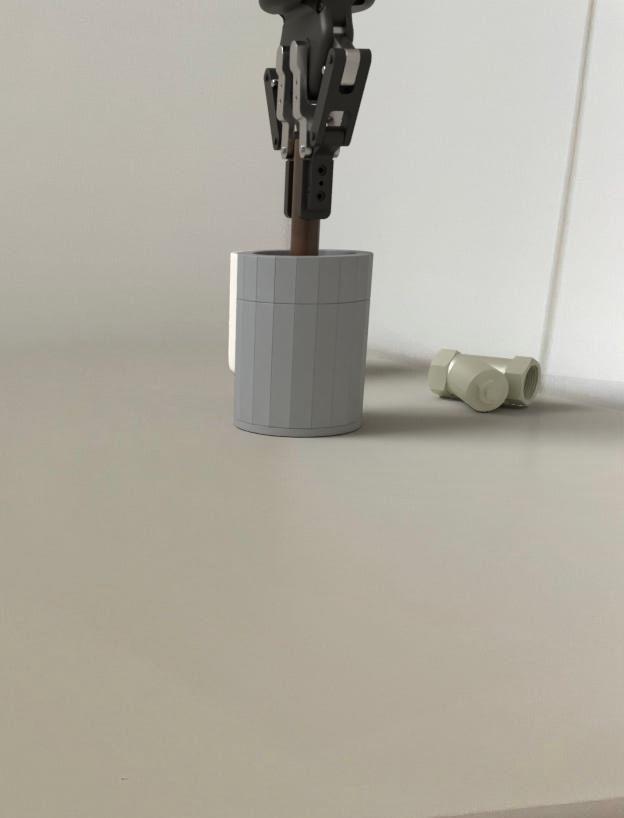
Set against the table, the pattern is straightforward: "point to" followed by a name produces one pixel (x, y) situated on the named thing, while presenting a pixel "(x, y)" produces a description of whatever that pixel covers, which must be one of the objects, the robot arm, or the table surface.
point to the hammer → (302, 220)
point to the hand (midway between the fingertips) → (306, 217)
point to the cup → (301, 341)
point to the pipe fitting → (484, 379)
